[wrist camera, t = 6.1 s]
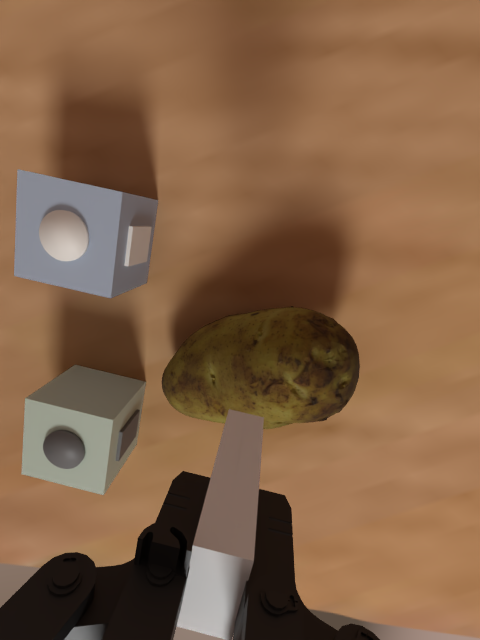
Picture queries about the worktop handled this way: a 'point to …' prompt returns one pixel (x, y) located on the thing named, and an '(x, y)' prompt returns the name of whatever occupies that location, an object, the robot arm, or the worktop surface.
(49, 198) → the slate blue block
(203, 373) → the potato
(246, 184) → the worktop surface
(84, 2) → the worktop surface
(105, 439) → the sage block
